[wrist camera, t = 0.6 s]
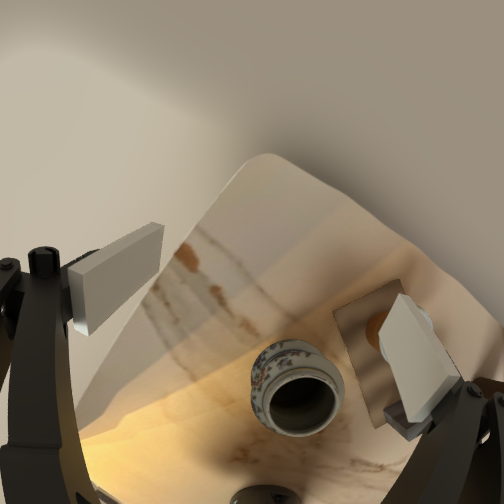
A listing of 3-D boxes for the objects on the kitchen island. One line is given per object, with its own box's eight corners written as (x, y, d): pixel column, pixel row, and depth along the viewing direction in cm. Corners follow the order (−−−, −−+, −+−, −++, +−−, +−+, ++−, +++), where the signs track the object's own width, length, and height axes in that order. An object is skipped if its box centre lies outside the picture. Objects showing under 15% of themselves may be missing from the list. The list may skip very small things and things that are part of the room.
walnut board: (429, 391, 42) (460, 406, 31) (373, 426, 41) (396, 451, 30) (396, 279, 46) (428, 273, 35) (332, 311, 45) (353, 315, 34)
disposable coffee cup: (381, 293, 45) (414, 290, 34) (409, 329, 44) (445, 335, 32) (345, 329, 45) (370, 338, 33) (374, 365, 43) (405, 382, 31)
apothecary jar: (293, 410, 43) (310, 462, 25) (237, 376, 44) (226, 419, 26) (334, 357, 44) (373, 387, 26) (278, 321, 45) (291, 335, 28)
